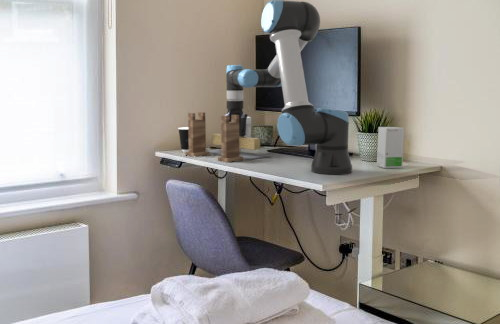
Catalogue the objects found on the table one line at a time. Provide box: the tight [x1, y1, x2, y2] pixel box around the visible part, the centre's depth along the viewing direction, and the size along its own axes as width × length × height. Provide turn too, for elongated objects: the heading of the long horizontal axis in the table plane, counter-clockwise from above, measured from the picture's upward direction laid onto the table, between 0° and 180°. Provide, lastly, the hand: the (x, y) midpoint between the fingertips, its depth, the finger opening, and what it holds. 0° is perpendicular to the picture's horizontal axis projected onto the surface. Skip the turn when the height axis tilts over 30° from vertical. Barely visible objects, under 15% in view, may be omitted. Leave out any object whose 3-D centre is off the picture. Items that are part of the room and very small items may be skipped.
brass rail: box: [211, 133, 261, 150], centre depth 248 cm, size 28×4×4 cm, turn 45°
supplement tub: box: [244, 116, 252, 138], centre depth 279 cm, size 10×10×15 cm
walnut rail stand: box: [184, 111, 244, 163], centre depth 238 cm, size 28×9×19 cm, turn 45°
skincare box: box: [376, 126, 405, 169], centre depth 214 cm, size 8×7×16 cm
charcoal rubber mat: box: [207, 148, 271, 161], centre depth 248 cm, size 32×12×1 cm, turn 45°
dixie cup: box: [177, 126, 189, 153], centre depth 260 cm, size 8×8×11 cm
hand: (235, 152), depth 248 cm, fingers closed on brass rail, 3 cm apart
